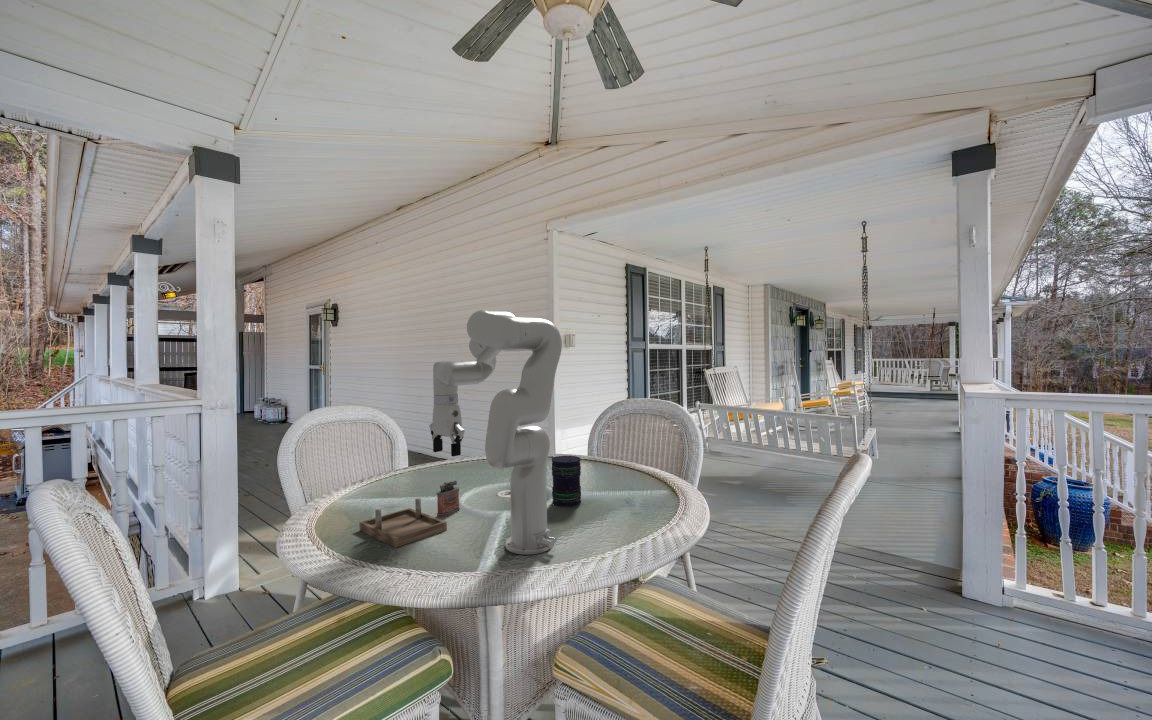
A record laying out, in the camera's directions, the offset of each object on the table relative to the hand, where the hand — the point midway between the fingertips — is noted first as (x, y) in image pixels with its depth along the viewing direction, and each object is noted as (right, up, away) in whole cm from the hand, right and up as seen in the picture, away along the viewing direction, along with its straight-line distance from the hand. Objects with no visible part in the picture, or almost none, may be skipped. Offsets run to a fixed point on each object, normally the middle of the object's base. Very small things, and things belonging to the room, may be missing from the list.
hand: (446, 453), depth 155 cm
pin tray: (-9, -20, -14) cm, 26 cm away
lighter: (0, -19, 0) cm, 19 cm away
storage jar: (+38, -19, +9) cm, 43 cm away
